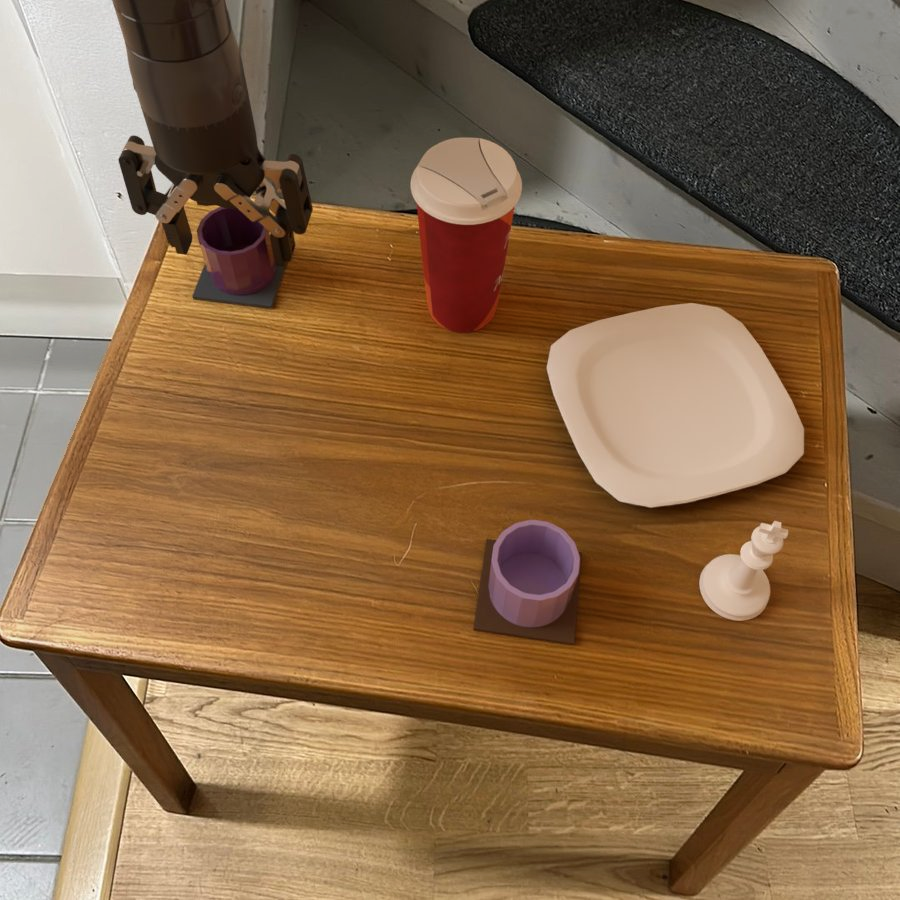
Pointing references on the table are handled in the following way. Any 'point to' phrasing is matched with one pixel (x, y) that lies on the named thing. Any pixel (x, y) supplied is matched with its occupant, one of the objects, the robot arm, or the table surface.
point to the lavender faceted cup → (533, 573)
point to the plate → (673, 405)
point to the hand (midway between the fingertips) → (233, 253)
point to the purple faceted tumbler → (236, 251)
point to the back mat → (258, 299)
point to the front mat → (495, 623)
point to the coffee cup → (464, 228)
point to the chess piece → (742, 575)
